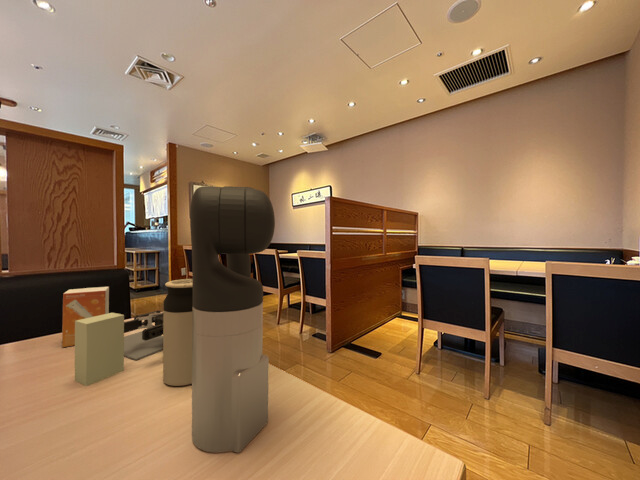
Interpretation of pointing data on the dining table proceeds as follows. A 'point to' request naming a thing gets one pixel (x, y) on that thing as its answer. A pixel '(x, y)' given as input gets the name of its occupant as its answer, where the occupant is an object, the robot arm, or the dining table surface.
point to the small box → (82, 309)
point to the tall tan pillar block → (99, 347)
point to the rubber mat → (141, 346)
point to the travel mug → (178, 333)
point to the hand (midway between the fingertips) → (130, 332)
